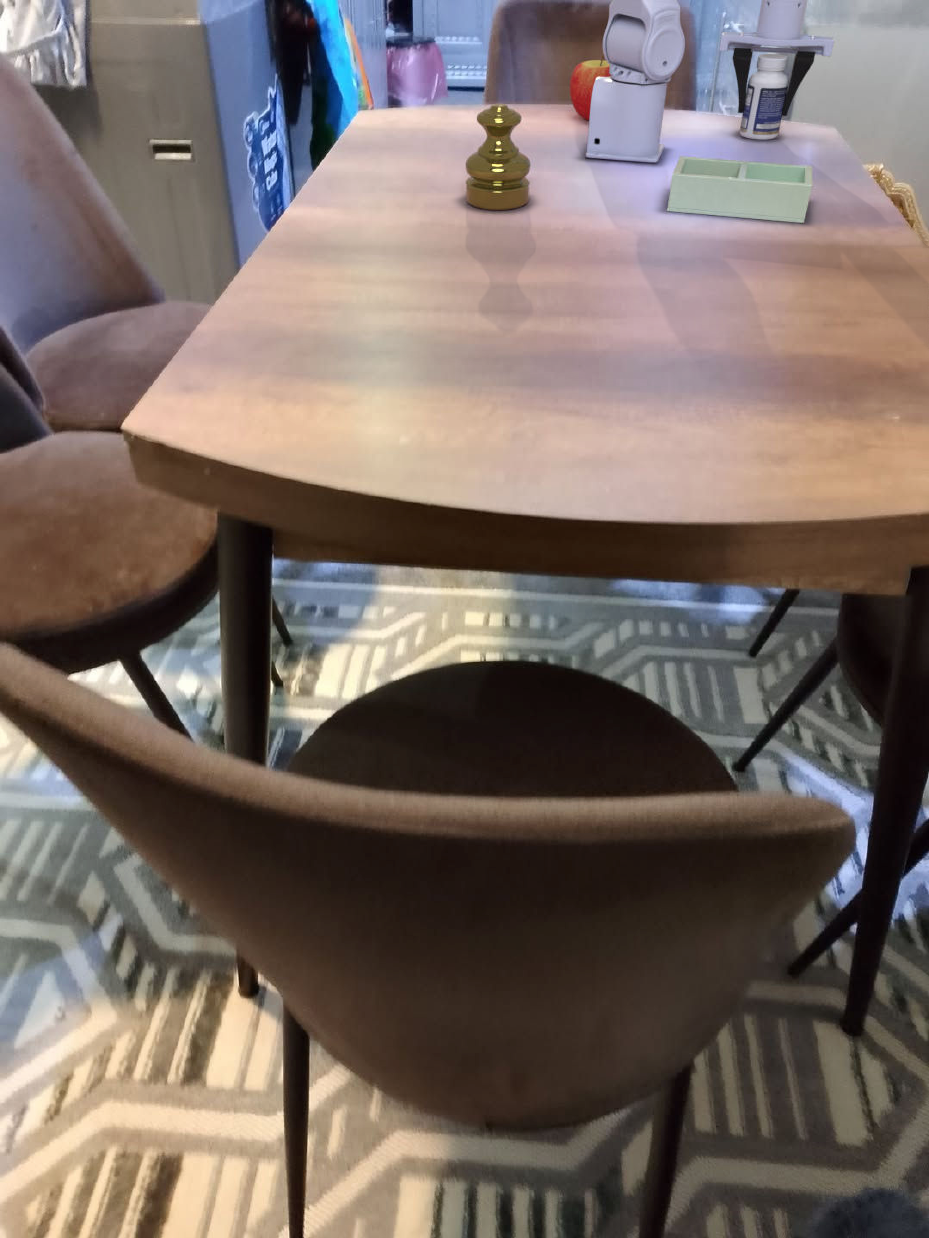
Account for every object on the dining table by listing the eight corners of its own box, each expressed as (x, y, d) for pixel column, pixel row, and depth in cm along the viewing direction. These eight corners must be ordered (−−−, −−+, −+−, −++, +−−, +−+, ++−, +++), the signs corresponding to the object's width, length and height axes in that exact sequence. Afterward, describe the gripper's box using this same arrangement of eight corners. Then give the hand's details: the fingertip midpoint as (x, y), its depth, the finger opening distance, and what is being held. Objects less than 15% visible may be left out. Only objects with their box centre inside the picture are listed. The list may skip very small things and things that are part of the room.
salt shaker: (481, 215, 102) (482, 116, 96) (455, 196, 108) (455, 101, 101) (539, 206, 105) (544, 109, 98) (511, 189, 110) (514, 95, 103)
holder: (803, 223, 100) (812, 185, 98) (667, 211, 104) (672, 174, 101) (804, 202, 106) (812, 166, 104) (674, 191, 109) (679, 156, 107)
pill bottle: (784, 135, 129) (801, 56, 123) (766, 142, 126) (782, 61, 120) (750, 129, 132) (765, 51, 126) (731, 136, 129) (745, 56, 123)
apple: (608, 129, 132) (615, 49, 126) (557, 121, 136) (561, 43, 129) (632, 118, 137) (641, 40, 131) (582, 110, 141) (588, 35, 134)
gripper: (842, -6, 120) (816, 110, 129) (730, -10, 123) (712, 103, 132) (844, 1, 115) (816, 121, 124) (726, -3, 118) (708, 114, 127)
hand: (762, 113), depth 127 cm, fingers closed on pill bottle, 5 cm apart
